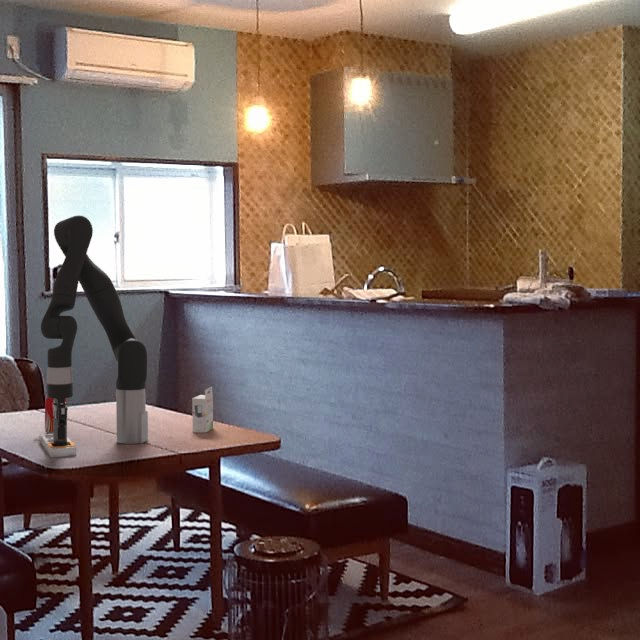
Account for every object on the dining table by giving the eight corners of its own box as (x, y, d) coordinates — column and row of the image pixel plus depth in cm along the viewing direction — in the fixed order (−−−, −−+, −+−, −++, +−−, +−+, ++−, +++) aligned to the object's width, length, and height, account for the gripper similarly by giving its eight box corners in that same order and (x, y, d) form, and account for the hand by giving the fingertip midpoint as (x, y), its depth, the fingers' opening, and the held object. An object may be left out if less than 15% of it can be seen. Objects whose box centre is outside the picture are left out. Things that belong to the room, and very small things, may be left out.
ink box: (199, 428, 349) (199, 385, 348) (213, 428, 348) (213, 386, 347) (191, 432, 340) (191, 389, 339) (205, 433, 339) (205, 389, 338)
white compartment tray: (40, 441, 322) (40, 433, 322) (64, 440, 325) (64, 431, 325) (50, 457, 298) (50, 448, 298) (76, 455, 301) (76, 446, 300)
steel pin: (69, 447, 305) (68, 418, 305) (63, 450, 301) (63, 420, 301) (56, 446, 306) (56, 417, 305) (51, 449, 302) (50, 419, 302)
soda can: (45, 431, 340) (44, 393, 339) (67, 431, 342) (66, 393, 341) (44, 435, 333) (44, 396, 332) (66, 434, 335) (66, 396, 334)
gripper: (75, 383, 297) (76, 441, 298) (69, 378, 310) (69, 433, 312) (49, 385, 294) (50, 443, 296) (44, 379, 308) (45, 434, 309)
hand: (60, 437), depth 304 cm, fingers closed on steel pin, 3 cm apart
